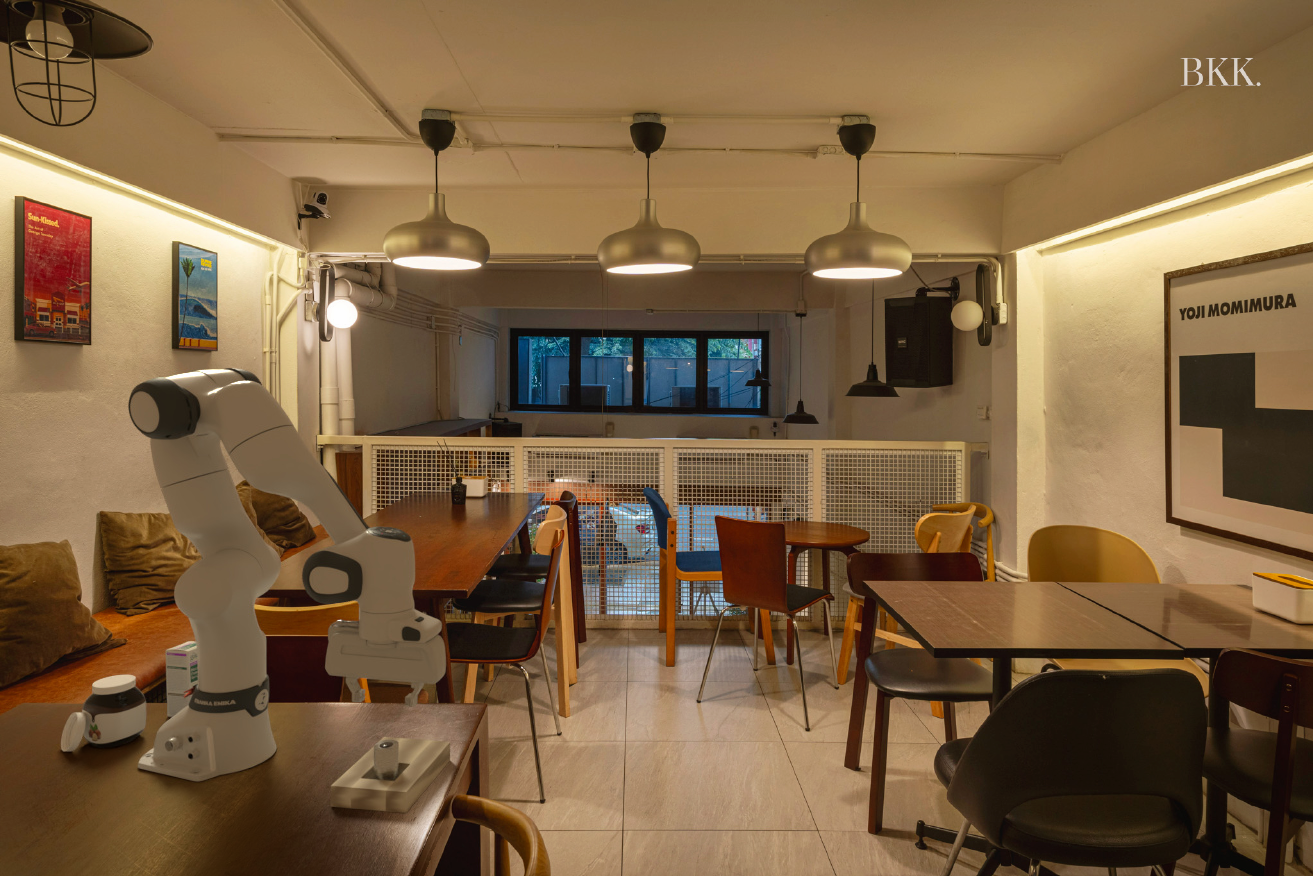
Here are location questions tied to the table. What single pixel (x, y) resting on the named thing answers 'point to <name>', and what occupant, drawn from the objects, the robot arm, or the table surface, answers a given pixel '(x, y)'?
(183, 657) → the syrup box
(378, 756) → the bushing
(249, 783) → the table surface
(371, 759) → the frame
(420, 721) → the table surface
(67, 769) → the table surface
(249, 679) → the robot arm
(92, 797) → the table surface
